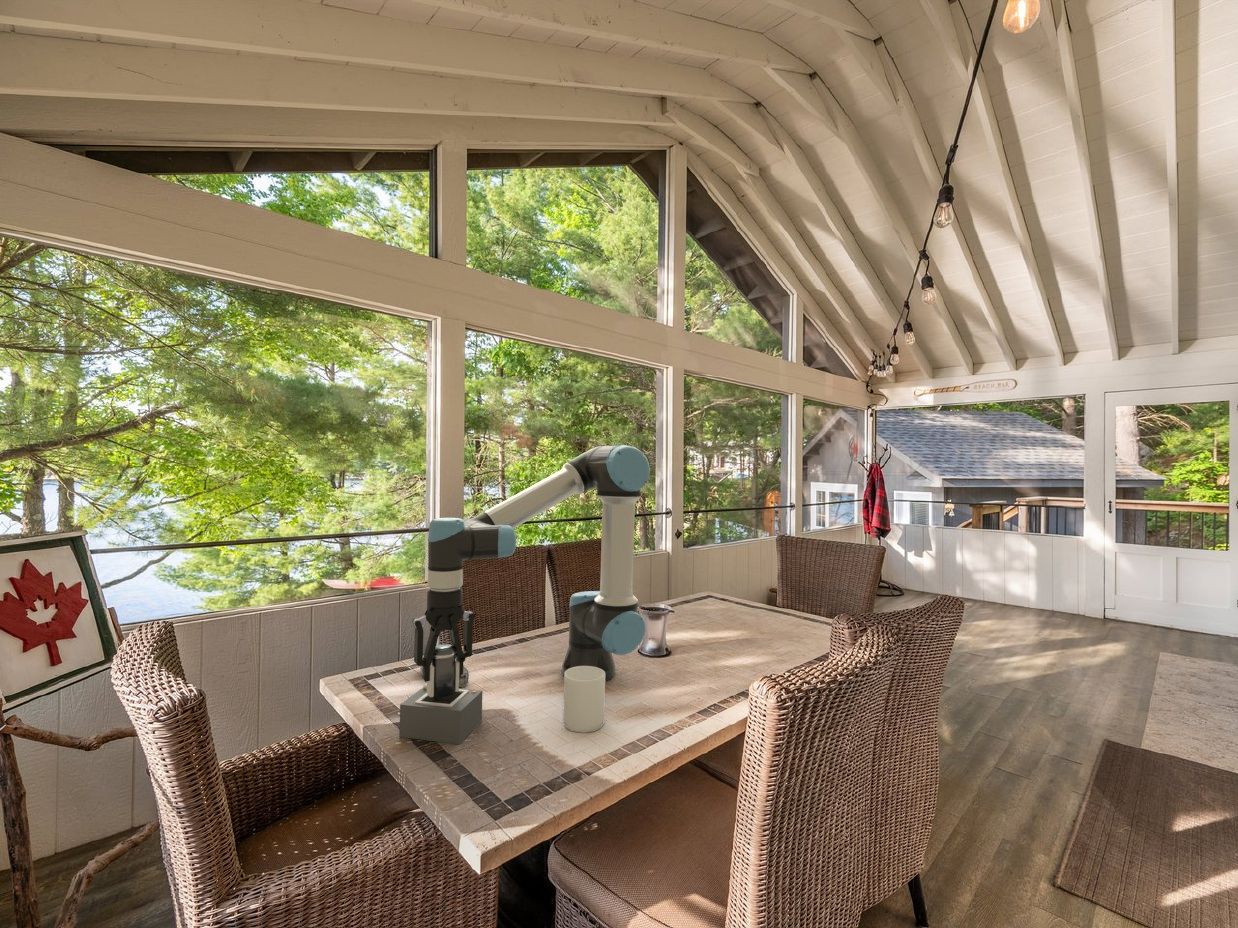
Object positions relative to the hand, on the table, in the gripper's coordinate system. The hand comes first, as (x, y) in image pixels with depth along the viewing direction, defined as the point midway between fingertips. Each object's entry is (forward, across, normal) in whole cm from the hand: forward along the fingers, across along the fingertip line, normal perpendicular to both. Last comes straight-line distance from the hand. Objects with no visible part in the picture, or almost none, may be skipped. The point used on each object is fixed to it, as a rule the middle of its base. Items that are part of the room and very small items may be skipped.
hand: (442, 691), depth 126 cm
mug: (+9, -28, +13) cm, 32 cm away
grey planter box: (+8, 0, 0) cm, 8 cm away
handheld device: (+9, -10, -28) cm, 31 cm away
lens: (0, 0, 0) cm, 0 cm away
